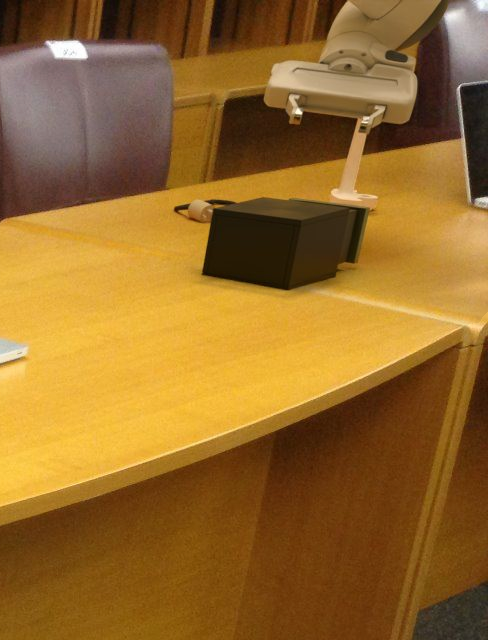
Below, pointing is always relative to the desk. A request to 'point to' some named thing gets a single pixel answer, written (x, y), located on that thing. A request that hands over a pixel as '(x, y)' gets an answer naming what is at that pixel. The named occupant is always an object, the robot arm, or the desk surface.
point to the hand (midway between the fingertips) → (329, 124)
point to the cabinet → (275, 242)
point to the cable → (202, 208)
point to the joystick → (353, 176)
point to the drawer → (349, 230)
